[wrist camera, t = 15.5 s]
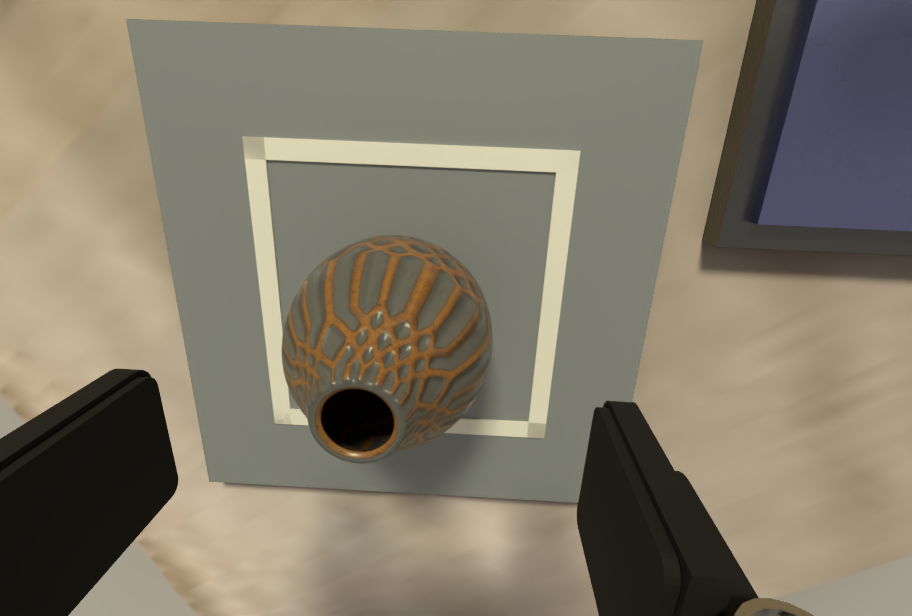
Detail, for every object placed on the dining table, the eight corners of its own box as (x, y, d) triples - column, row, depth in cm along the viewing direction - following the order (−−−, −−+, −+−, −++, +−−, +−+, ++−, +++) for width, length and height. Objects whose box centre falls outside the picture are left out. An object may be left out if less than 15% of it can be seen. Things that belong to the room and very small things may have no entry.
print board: (690, 46, 16) (704, 40, 15) (605, 490, 23) (612, 506, 22) (145, 25, 17) (123, 17, 16) (220, 468, 24) (208, 483, 23)
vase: (303, 337, 20) (181, 475, 12) (360, 190, 18) (260, 232, 9) (446, 399, 21) (428, 570, 12) (518, 266, 18) (555, 366, 10)
